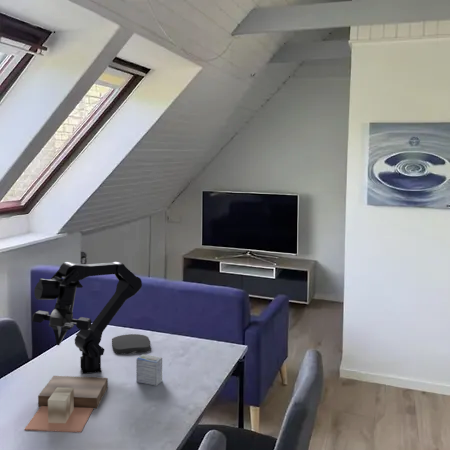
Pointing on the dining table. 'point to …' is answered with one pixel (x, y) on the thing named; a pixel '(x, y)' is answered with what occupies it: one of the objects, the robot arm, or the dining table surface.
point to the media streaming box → (131, 344)
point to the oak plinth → (77, 390)
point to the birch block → (60, 405)
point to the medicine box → (149, 369)
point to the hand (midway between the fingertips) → (58, 345)
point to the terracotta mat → (72, 424)
